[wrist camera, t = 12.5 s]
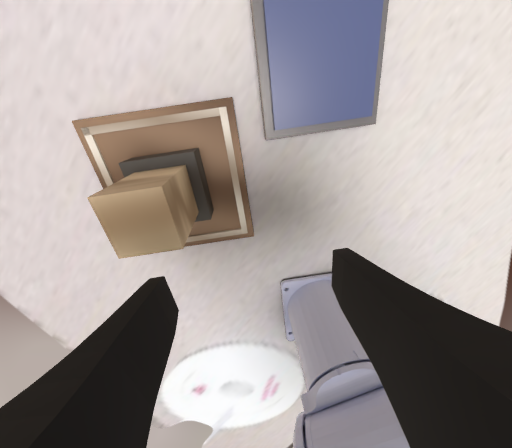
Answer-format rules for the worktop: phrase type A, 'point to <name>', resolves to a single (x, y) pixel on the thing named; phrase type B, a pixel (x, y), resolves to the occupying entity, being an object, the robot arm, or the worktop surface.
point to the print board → (175, 139)
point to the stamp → (154, 203)
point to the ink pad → (318, 63)
